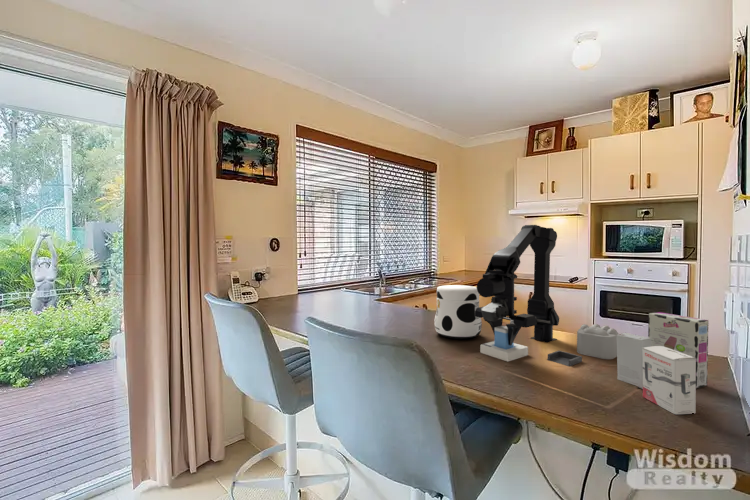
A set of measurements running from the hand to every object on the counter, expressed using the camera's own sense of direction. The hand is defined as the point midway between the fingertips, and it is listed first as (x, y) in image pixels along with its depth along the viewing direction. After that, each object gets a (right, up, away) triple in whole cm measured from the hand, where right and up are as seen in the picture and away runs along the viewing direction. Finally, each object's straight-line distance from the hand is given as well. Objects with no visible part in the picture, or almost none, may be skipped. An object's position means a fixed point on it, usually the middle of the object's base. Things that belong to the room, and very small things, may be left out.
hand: (504, 343), depth 112 cm
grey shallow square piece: (+15, -4, -6) cm, 17 cm away
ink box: (+24, -5, -33) cm, 41 cm away
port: (0, -4, 0) cm, 4 cm away
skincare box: (+24, -5, -22) cm, 33 cm away
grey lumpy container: (+30, -4, +1) cm, 30 cm away
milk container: (-9, -3, +23) cm, 25 cm away
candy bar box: (+37, -4, -19) cm, 42 cm away
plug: (0, -2, 0) cm, 2 cm away
